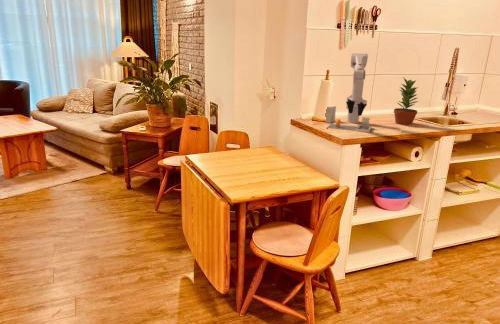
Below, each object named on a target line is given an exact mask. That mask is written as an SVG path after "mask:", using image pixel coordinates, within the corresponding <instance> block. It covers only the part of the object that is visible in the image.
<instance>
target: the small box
mask: <svg viewBox="0 0 500 324" xmlns="http://www.w3.org/2000/svg"><path fill="white" fill-rule="evenodd" d="M327 105H328V104H327ZM336 111H337V106H336V105H330V104H329V105H328V107H327V109H326V113H325V117H326V121H325V122H324V123H329V124H333V123H336Z"/></svg>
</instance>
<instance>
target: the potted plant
mask: <svg viewBox="0 0 500 324" xmlns="http://www.w3.org/2000/svg"><path fill="white" fill-rule="evenodd" d="M402 79H403V80H404V83H405V84H402V83H401V85H402V87H401V86H399V88H400V89H399V92H401V93H400V94H401V96H402V98H401V100H402V101H400V100H398V102H397V101H396V103H397V105H398V106H400V107H397V108H394V109H393V113H394V121H395V124H397V125H401V126H402V125H403V126H412V125H413V122H414V120H415V119H416V116H417V114H418V110H417V109H413V108H411V107H412V106H414V105H415V104H416V103H419V102H420V101H415V100H417V99H418V97H416V96H417V95H418V94H419V93H417V94H415V93H416V92H417V90H418V88H419V87H418V86H417V87H416V86H414V84H415V83H416V81H417V79H415V80H414V81H413V80H412V79H409V80H407V79H406V78H405V77H402ZM413 86H414V87H413ZM403 87H404V88H403ZM400 103H401V104H400Z"/></svg>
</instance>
